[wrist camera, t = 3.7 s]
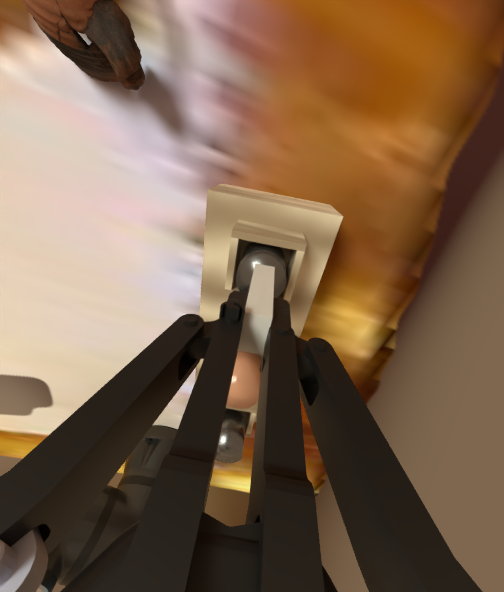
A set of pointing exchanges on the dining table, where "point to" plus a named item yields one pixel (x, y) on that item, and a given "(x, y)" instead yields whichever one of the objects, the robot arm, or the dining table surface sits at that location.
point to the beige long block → (272, 231)
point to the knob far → (231, 437)
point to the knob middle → (245, 381)
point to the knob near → (265, 257)
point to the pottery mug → (92, 37)
